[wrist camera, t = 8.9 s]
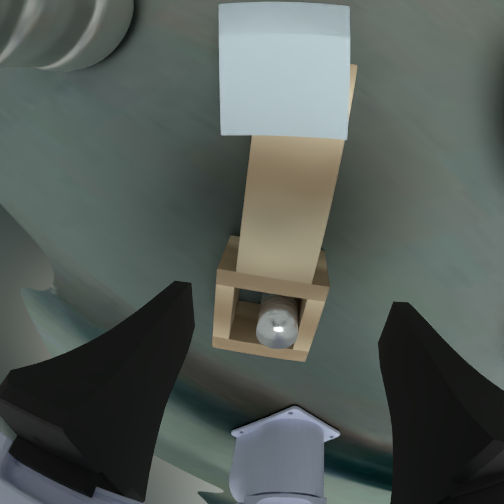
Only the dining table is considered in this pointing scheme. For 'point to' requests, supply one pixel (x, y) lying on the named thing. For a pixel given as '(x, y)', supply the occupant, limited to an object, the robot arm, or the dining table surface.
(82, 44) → the plastic bottle
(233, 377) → the dining table surface
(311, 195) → the link
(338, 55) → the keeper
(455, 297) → the dining table surface
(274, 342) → the pintle
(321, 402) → the dining table surface
